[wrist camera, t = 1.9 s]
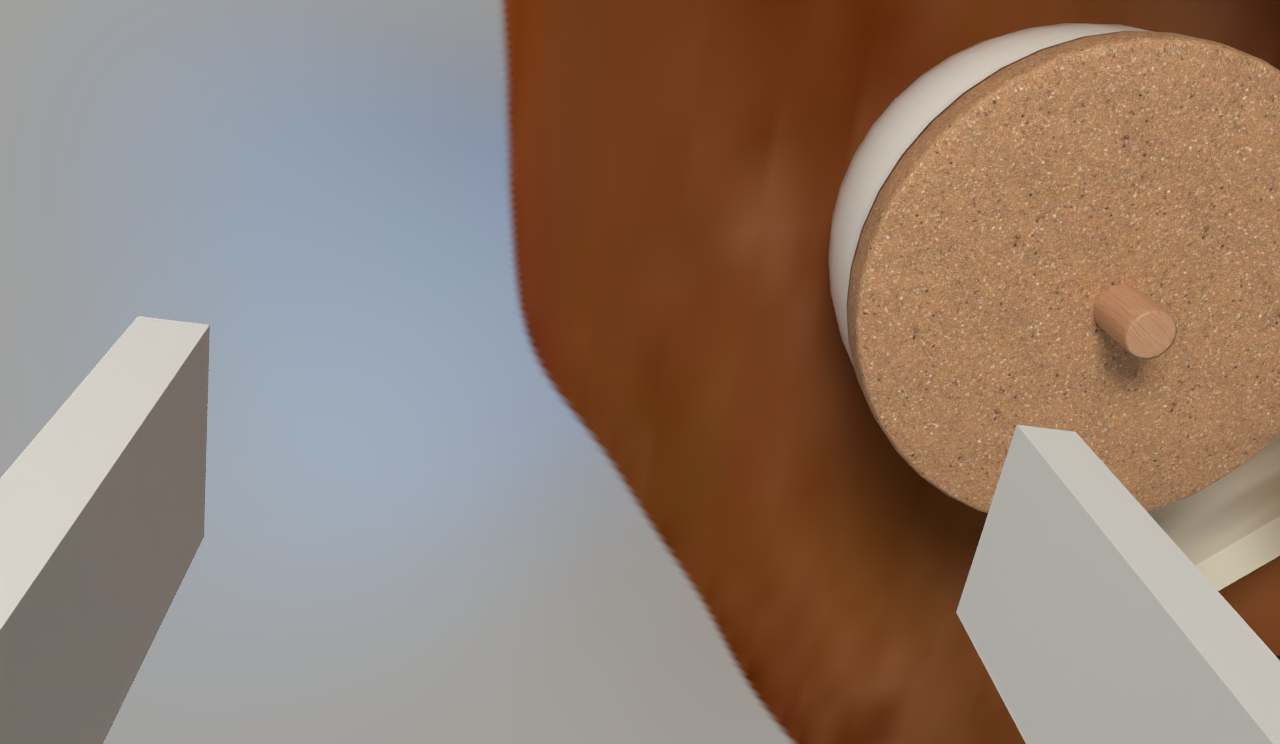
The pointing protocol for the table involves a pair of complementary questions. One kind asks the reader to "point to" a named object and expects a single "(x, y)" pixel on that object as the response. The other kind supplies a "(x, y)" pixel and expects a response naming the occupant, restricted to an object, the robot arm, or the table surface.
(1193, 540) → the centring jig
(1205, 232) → the lidded jar
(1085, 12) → the table surface
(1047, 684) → the robot arm
